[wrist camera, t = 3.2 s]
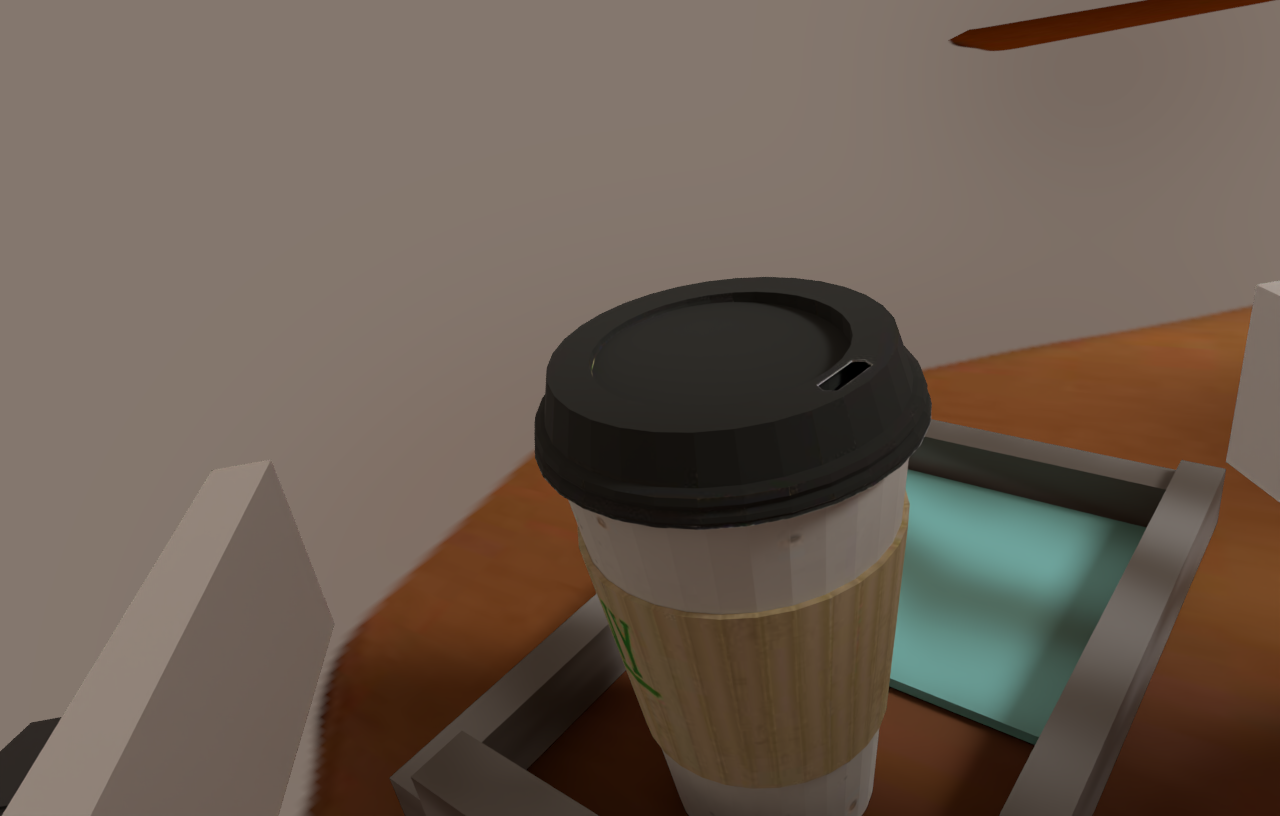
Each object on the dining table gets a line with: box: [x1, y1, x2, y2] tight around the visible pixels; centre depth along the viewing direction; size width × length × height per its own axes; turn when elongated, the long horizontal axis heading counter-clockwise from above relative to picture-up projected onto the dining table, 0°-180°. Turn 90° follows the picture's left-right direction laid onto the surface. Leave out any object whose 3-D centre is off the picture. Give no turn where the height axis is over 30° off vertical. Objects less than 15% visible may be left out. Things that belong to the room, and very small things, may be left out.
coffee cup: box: [535, 277, 932, 816], centre depth 26 cm, size 10×10×15 cm
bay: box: [390, 419, 1226, 816], centre depth 32 cm, size 27×17×4 cm, turn 141°
